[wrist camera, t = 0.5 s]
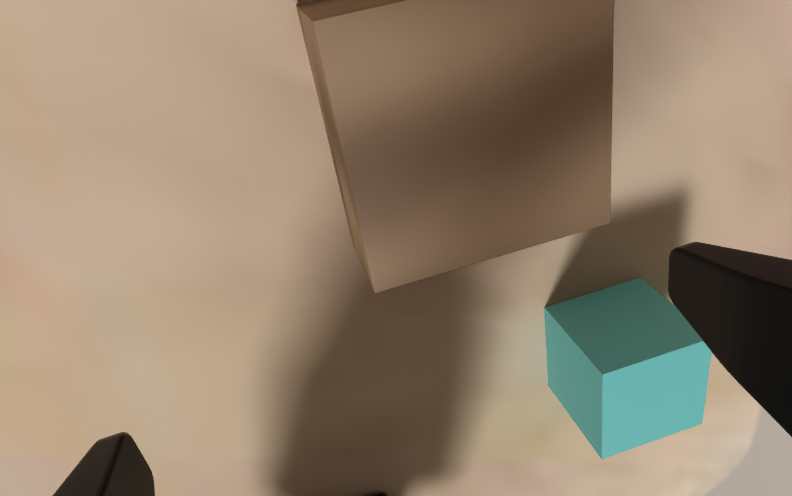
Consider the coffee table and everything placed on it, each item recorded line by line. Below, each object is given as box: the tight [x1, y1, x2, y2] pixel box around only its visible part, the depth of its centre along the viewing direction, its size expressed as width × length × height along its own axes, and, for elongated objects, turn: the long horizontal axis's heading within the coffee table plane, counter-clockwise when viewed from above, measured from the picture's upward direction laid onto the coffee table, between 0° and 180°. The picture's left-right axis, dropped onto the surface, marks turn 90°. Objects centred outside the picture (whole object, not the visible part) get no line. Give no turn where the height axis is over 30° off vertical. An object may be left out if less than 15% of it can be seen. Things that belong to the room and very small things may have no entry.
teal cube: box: [544, 278, 711, 459], centre depth 27 cm, size 5×5×5 cm
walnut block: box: [296, 0, 614, 293], centre depth 21 cm, size 9×9×4 cm
